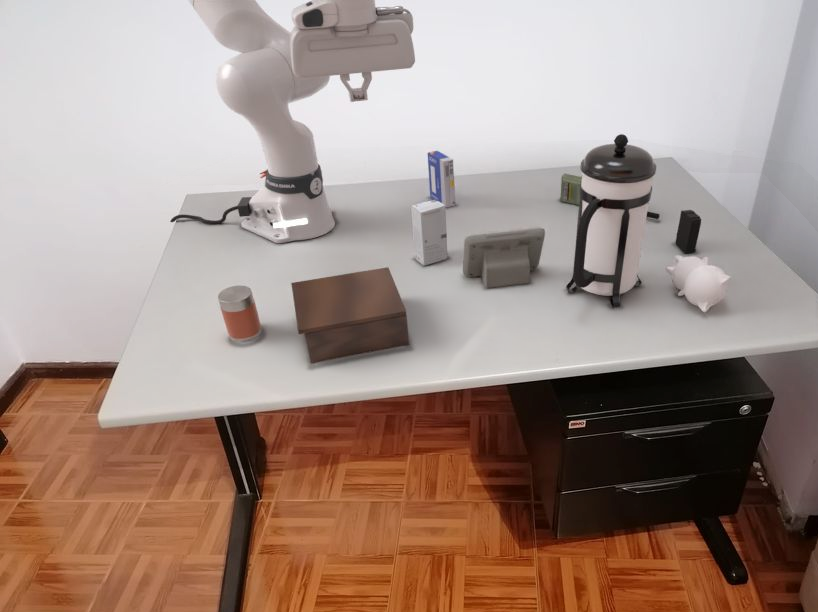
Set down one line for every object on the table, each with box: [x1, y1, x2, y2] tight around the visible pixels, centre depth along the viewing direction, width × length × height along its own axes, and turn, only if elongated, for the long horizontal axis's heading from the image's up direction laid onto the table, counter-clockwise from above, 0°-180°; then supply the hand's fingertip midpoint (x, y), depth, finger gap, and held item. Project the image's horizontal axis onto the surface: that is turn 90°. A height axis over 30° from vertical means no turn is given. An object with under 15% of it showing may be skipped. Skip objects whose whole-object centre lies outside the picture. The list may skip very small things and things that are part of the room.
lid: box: [291, 266, 407, 335], centre depth 110 cm, size 18×16×1 cm
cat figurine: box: [665, 254, 732, 313], centre depth 119 cm, size 9×11×12 cm
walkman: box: [427, 150, 456, 208], centre depth 156 cm, size 8×3×12 cm, turn 32°
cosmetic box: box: [410, 199, 449, 266], centre depth 132 cm, size 6×4×12 cm
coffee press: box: [565, 133, 657, 308], centre depth 115 cm, size 17×16×30 cm
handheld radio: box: [560, 172, 660, 220], centre depth 152 cm, size 7×3×25 cm
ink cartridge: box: [675, 209, 702, 254], centre depth 135 cm, size 5×2×8 cm, turn 10°
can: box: [217, 285, 263, 343], centre depth 111 cm, size 6×6×9 cm
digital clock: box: [462, 226, 546, 289], centre depth 126 cm, size 16×9×11 cm, turn 89°
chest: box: [304, 314, 410, 364], centre depth 112 cm, size 17×16×7 cm
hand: (358, 100), depth 109 cm, fingers closed
